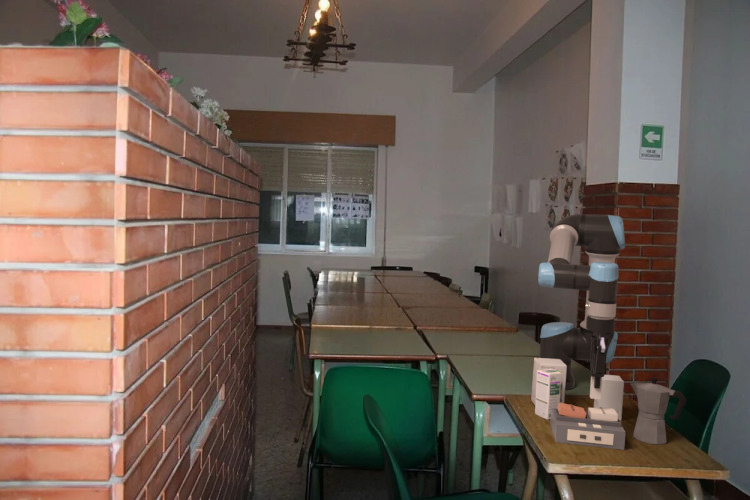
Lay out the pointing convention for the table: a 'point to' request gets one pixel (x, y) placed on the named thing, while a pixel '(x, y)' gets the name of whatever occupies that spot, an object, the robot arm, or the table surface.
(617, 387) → the supplement box
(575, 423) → the console
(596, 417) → the rocker
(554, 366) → the supplement box
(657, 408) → the coffeepot
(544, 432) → the table surface
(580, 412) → the rocker
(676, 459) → the table surface
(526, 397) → the table surface
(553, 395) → the syrup box
